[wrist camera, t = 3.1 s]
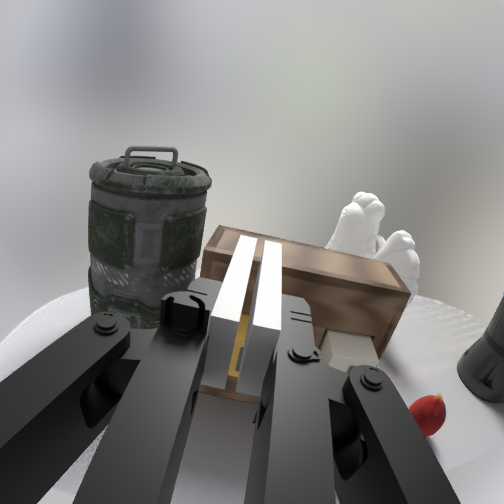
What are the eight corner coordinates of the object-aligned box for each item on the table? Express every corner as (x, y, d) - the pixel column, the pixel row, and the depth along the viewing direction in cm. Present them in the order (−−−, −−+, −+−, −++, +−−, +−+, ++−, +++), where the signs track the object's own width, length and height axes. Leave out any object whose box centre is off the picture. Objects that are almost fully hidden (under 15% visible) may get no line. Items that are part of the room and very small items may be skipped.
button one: (353, 366, 35) (369, 333, 33) (360, 396, 30) (379, 362, 29) (313, 360, 35) (327, 326, 33) (316, 391, 31) (333, 356, 29)
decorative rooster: (296, 282, 73) (324, 178, 64) (353, 287, 76) (384, 193, 67) (334, 353, 50) (386, 215, 41) (402, 350, 54) (455, 232, 44)
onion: (434, 434, 34) (464, 398, 31) (415, 453, 31) (448, 417, 28) (409, 412, 38) (435, 376, 35) (389, 429, 35) (417, 391, 32)
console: (339, 377, 45) (389, 263, 37) (346, 415, 38) (411, 293, 30) (200, 351, 45) (219, 225, 38) (187, 388, 38) (203, 249, 30)
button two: (257, 350, 35) (267, 314, 33) (253, 381, 31) (264, 344, 29) (213, 341, 35) (220, 304, 33) (204, 371, 31) (210, 333, 29)
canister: (155, 295, 56) (171, 141, 46) (211, 342, 48) (243, 159, 37) (78, 317, 45) (76, 139, 34) (123, 381, 36) (123, 156, 25)
